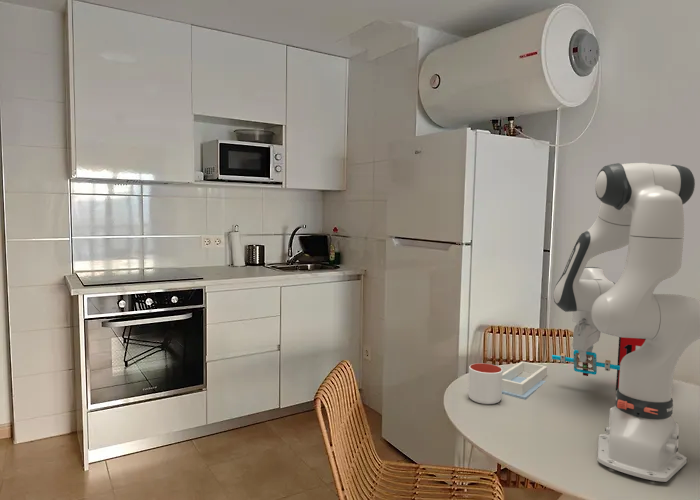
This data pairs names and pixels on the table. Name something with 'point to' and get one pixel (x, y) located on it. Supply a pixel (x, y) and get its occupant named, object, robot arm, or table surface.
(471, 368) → the cup
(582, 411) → the table surface
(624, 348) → the cleaning product box
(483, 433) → the table surface
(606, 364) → the gear mechanism
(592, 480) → the table surface
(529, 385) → the white blue rectangular tray
